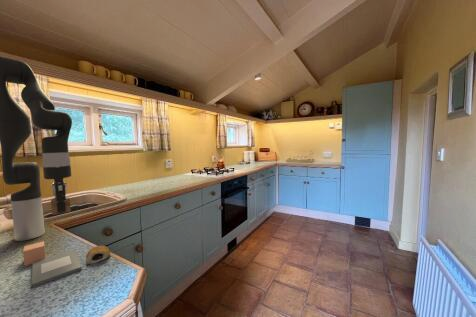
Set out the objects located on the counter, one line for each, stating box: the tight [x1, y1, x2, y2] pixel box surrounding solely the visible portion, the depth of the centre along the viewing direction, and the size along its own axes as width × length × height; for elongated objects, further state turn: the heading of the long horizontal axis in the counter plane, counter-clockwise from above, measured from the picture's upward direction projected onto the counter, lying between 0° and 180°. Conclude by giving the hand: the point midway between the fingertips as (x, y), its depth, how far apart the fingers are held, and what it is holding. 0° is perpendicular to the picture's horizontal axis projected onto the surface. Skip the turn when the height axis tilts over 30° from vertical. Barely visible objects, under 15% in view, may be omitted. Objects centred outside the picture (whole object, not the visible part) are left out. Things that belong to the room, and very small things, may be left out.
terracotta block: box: [22, 240, 47, 266], centre depth 69 cm, size 5×5×5 cm
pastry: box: [85, 245, 111, 265], centre depth 70 cm, size 9×7×4 cm
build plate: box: [30, 249, 82, 289], centre depth 64 cm, size 16×11×1 cm
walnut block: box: [50, 195, 72, 216], centre depth 74 cm, size 5×5×5 cm
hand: (61, 210), depth 74 cm, fingers closed on walnut block, 5 cm apart
